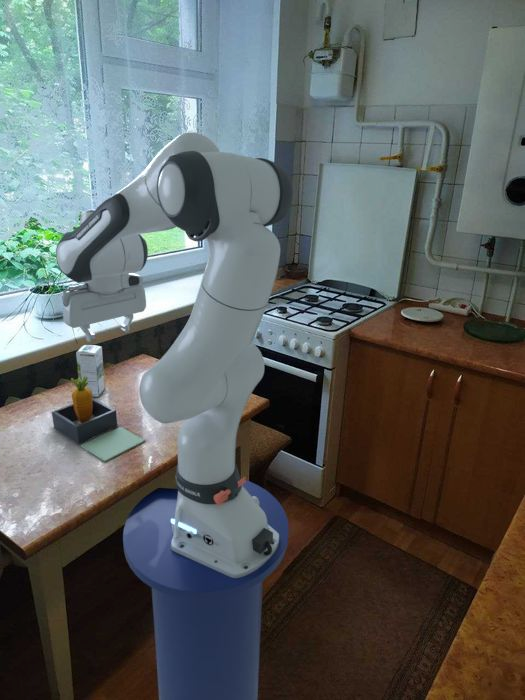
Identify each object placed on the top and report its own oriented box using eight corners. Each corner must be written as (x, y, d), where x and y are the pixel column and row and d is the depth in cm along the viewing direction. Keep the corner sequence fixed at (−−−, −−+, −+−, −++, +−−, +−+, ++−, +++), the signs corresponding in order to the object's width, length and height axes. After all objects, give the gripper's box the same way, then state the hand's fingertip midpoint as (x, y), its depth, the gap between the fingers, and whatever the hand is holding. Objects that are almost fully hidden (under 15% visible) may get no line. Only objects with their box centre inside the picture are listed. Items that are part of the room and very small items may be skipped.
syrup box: (87, 387, 153) (82, 344, 148) (105, 388, 153) (101, 345, 148) (80, 396, 148) (74, 351, 143) (99, 397, 148) (95, 352, 142)
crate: (117, 426, 133) (116, 410, 131) (78, 444, 124) (76, 427, 123) (92, 412, 139) (90, 396, 138) (53, 428, 131) (51, 411, 129)
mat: (145, 441, 127) (144, 440, 127) (104, 462, 118) (104, 460, 118) (120, 427, 132) (120, 426, 132) (80, 446, 124) (80, 445, 123)
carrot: (72, 430, 130) (65, 378, 125) (83, 421, 135) (77, 371, 129) (88, 433, 129) (82, 382, 123) (99, 424, 134) (94, 374, 128)
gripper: (68, 291, 105) (75, 350, 111) (148, 276, 119) (150, 329, 125) (54, 284, 109) (61, 343, 114) (133, 271, 123) (136, 323, 129)
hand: (108, 336), depth 120 cm, fingers open, 8 cm apart
